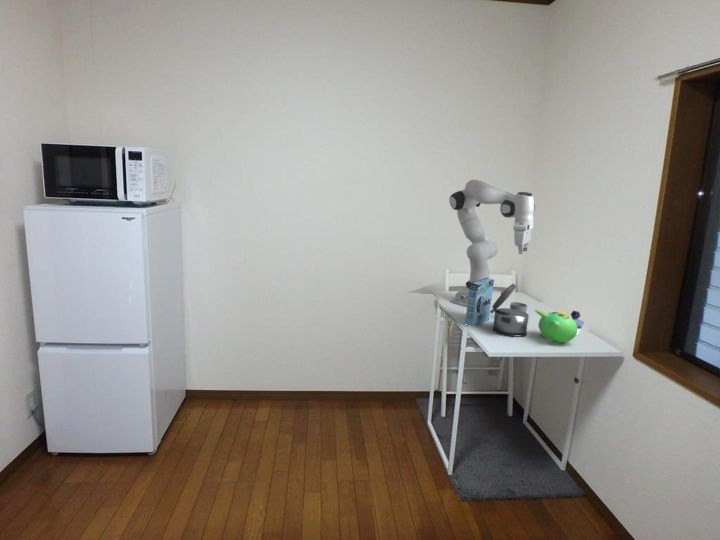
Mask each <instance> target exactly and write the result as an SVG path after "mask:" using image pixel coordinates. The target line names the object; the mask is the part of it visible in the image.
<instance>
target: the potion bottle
mask: <svg viewBox="0 0 720 540" xmlns="http://www.w3.org/2000/svg"><path fill="white" fill-rule="evenodd" d="M570 317H571V318H572V319H573V320H574V321H575V323H576V325H577V329H578V330H577V334H576V335H578V336H579V333H580V331H581V329H582V327H583V325H584V321H583V320H581V319H579V318H580V317H581V314H580V311H577V310H572V312H570Z"/></svg>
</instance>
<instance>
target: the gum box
mask: <svg viewBox="0 0 720 540" xmlns="http://www.w3.org/2000/svg"><path fill="white" fill-rule="evenodd" d="M494 283H495V279H494V278H490V277H489V278H484V279H481V280H478V281H475V282H471V283H470V287H469V295H468V303H467V307H466V312H465V319H464V320H465V323H464V325H465V324H467V325H470V326H474V327H476V326H478V325H481V324H482V322H483V323H484V322H487V321H488V320H490V315H491V312H490V311H491V307H492V306H491V305H492V300H493V299H492V298H493V292H494V291H493V290H494ZM467 325H466V326H467ZM470 326H469V327H470Z"/></svg>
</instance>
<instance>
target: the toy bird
mask: <svg viewBox="0 0 720 540" xmlns="http://www.w3.org/2000/svg"><path fill="white" fill-rule="evenodd" d="M534 311H535V313H536V314H538V315H539V317H540V319H539V321H538V329H539V332H540V333H541V335H543V337H545V339H548V340H549V341H552V342H555V343H567V342H570V341H572V340H574V338H575V337H576V334H577V330H578V329H577V325H576V323H575V321H574V320H573V319H572V316H571V315H568V314H567V311H551V312H548V313H547V312H545V311H542V310H538V309H535V310H534Z"/></svg>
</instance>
